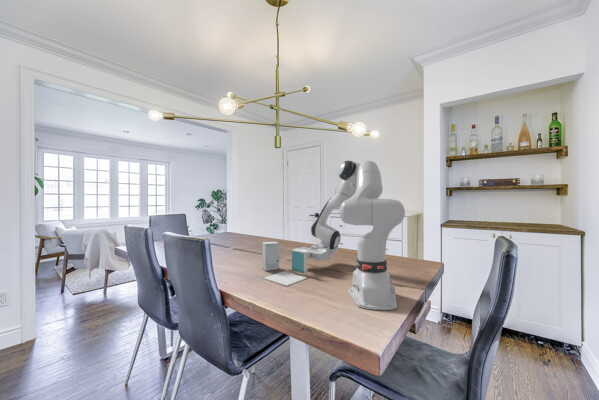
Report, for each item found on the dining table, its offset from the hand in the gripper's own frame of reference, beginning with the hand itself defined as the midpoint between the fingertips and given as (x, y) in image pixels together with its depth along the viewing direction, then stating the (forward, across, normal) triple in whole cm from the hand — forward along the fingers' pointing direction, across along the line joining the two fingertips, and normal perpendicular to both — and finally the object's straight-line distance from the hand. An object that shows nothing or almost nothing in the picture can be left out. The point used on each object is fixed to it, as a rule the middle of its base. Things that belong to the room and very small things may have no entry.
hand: (300, 256), depth 131 cm
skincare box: (+5, -18, +9) cm, 21 cm away
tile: (+1, 0, +9) cm, 9 cm away
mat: (+12, 0, +9) cm, 15 cm away
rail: (+4, 0, +9) cm, 10 cm away
